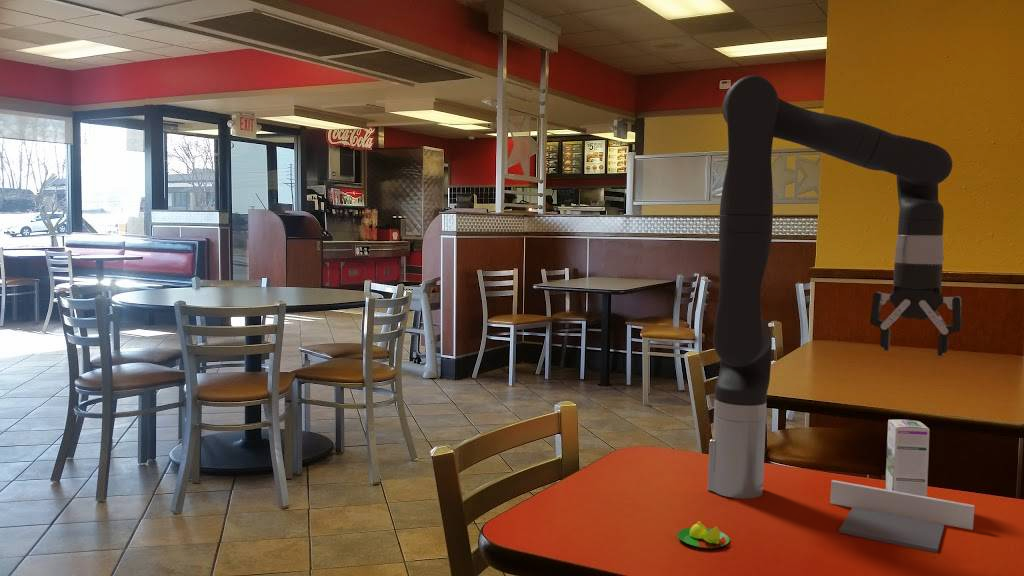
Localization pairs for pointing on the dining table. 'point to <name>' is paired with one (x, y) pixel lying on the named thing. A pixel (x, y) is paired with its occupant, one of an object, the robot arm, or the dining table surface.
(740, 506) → the dining table surface
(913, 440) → the syrup box
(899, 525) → the mat
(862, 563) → the dining table surface
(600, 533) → the dining table surface
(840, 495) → the low wall
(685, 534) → the green fruit plate
